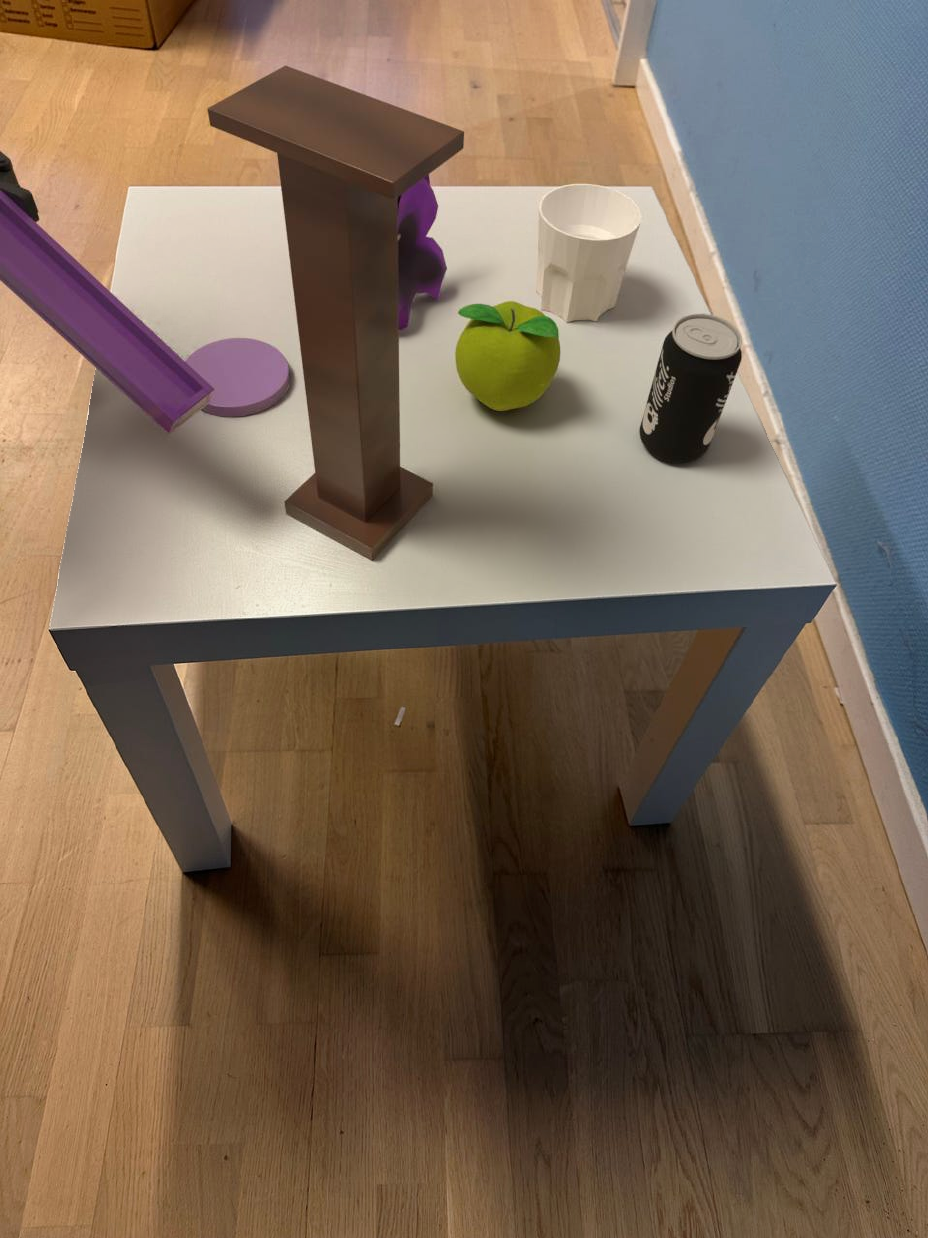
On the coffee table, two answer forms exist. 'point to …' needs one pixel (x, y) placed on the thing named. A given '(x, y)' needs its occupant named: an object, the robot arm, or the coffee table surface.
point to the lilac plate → (241, 375)
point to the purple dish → (96, 322)
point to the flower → (417, 248)
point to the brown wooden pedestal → (345, 285)
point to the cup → (583, 249)
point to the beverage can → (690, 387)
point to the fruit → (507, 354)
